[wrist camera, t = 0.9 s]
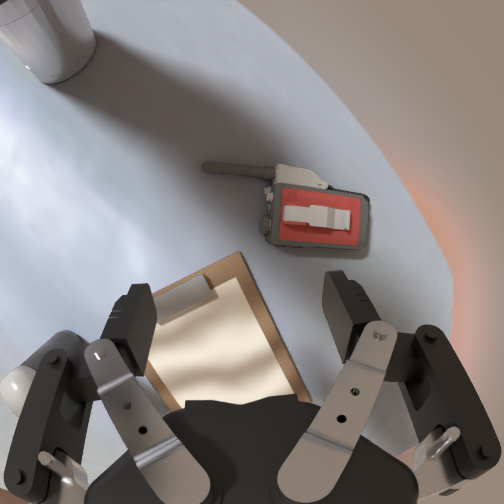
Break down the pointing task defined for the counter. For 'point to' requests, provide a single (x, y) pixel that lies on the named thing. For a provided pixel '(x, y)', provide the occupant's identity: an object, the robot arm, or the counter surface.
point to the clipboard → (218, 341)
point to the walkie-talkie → (306, 208)
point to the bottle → (35, 369)
